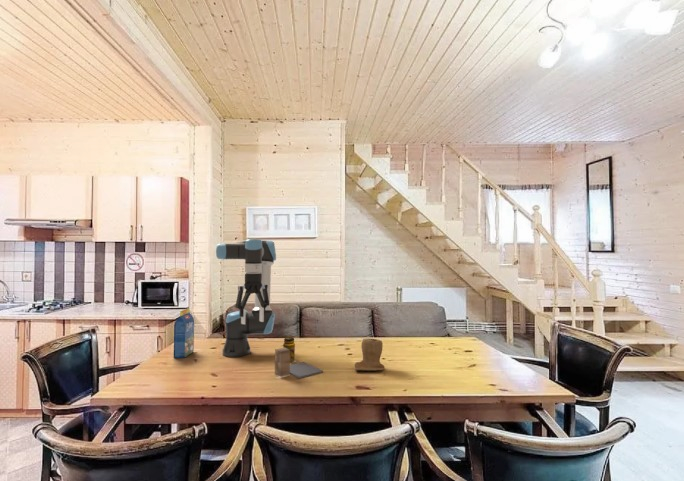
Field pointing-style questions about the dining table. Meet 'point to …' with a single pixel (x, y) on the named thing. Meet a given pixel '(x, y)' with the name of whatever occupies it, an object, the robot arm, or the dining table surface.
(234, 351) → the robot arm
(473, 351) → the dining table surface
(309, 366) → the mat
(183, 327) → the blue food package
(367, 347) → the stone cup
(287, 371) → the walnut block
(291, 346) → the condiment
